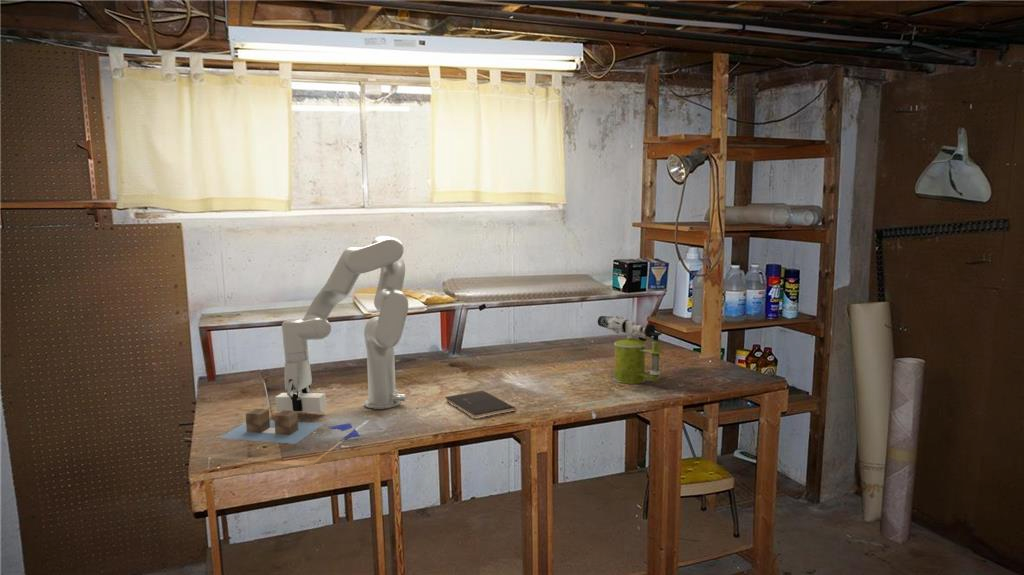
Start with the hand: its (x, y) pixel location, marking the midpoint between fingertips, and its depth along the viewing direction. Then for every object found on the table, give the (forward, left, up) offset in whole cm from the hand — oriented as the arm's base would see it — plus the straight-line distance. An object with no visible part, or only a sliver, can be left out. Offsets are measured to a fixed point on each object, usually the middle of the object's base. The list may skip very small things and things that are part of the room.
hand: (301, 407), depth 230 cm
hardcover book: (-56, -22, -4) cm, 61 cm away
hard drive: (-21, +13, -4) cm, 25 cm away
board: (+1, +17, -3) cm, 17 cm away
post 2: (-4, +17, -2) cm, 17 cm away
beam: (0, 0, -1) cm, 1 cm away
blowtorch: (-106, -66, -3) cm, 125 cm away
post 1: (+6, +17, -2) cm, 18 cm away
